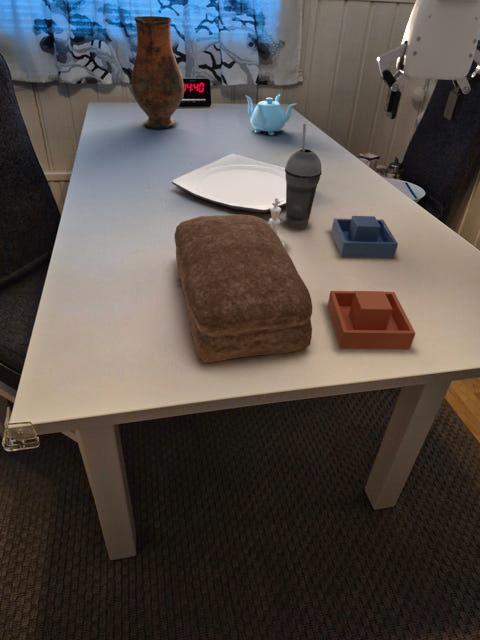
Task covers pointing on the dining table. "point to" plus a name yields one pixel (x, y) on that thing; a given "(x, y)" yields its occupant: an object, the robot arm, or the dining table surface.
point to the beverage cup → (301, 185)
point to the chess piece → (275, 216)
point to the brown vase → (156, 72)
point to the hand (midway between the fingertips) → (419, 118)
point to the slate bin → (348, 248)
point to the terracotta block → (370, 310)
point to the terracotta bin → (348, 338)
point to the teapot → (268, 115)
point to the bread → (241, 288)
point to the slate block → (364, 229)
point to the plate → (237, 183)
